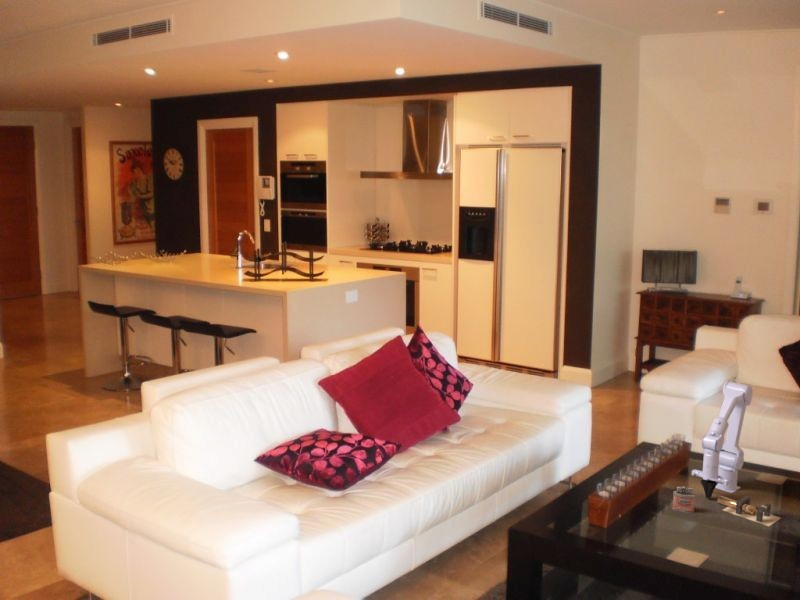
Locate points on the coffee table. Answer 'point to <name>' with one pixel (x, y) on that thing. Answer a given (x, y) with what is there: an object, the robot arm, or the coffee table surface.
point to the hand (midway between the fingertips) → (708, 497)
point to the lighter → (684, 500)
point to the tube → (732, 504)
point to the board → (759, 516)
